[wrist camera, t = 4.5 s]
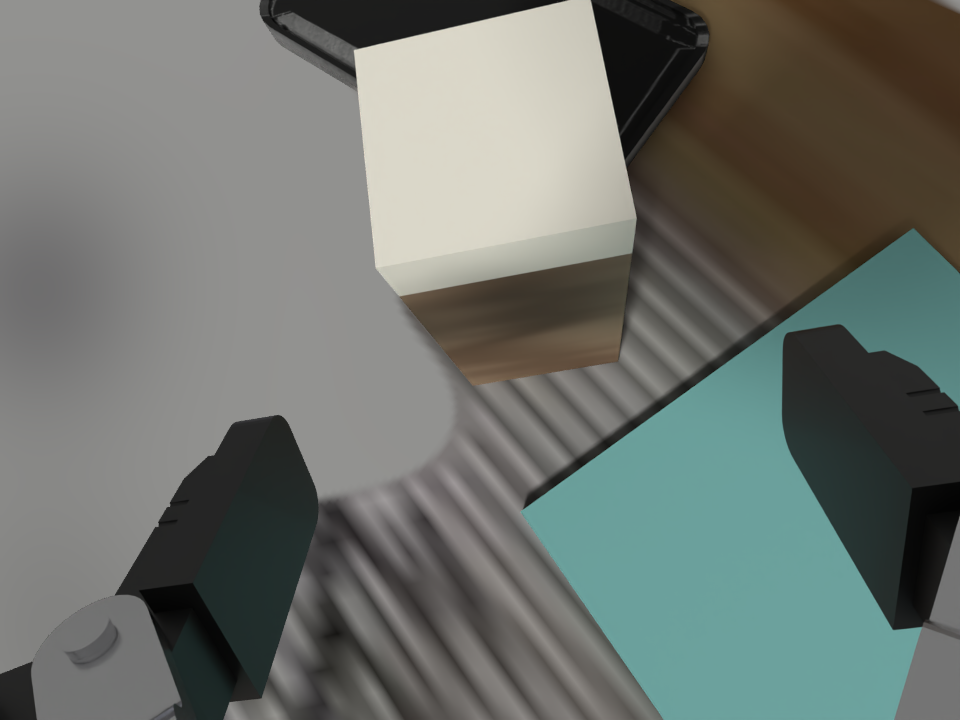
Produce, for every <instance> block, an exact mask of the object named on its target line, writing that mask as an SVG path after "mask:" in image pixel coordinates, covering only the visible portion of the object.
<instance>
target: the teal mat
mask: <svg viewBox="0 0 960 720" xmlns="http://www.w3.org/2000/svg"><path fill="white" fill-rule="evenodd" d="M836 324H841V325H843V326H844V327H845V328H846V329H847V330H848V331H849V332H850V333H851V334H852V335H853V336H854V338H855V339H856V340H857V341H858V342H859V343H860V344H861V345H862V346H863V347H864V348H865V349H866V351H867V352H868V353H870V352H877V351H883V350H885V351H887V352H889V353H891V354H894V355H896V356H898V357H900V358H902V359H904V360H906V361H908V362H910V363H912V364H915V365H917V366H918V367H919V368H920V369H922V370H923V371H924V372H925V373H926V374H927V375H928V376H929V377H930V378H931V379H932V380H933V381H934V382H935V383H936V384H937V385H938V386H939V387H940V391H941V393H942V392H945V393H946V394H947V395H948V396H949V397H950V398H951V399H952V400H953V401H954V402H955V403H956V404H957V405H958V409H959V411H960V273H959V272H958V271H957V270H956V269H955V268H954V267H953V266H952V265H951V264H950V263H949V262H948V261H947V260H946V259H945V258H943V257H942V256H941V255H940V254H939V253H938V252H937V251H936V250H935V249H934V248H933V247H932V246H931V245H930V244H929V243H928V242H927V241H926V240H925V239H924V238H923V237H922V236H921V235H920V234H919V233H918V232H917V231H916V230H915V229H914V228H913V229H911V230H910V231H908V232H907V233H906V234H904V235H903V236H901V237H900V238H899V239H897V240H896V241H895V242H893V243H892V244H890V245H889V246H888V247H886V248H885V249H883V250H882V251H881V252H879V253H878V254H877V255H875V256H874V257H872V258H871V259H870V260H868V261H867V262H865V263H864V264H863V265H861V266H860V267H859V268H857V269H856V270H854V271H853V272H852V273H850V274H849V275H847V276H846V277H845V278H843V279H842V280H841V281H839V282H838V283H836V284H835V285H834V286H832V287H831V288H829V289H828V290H827V291H825V292H824V293H823V294H821V295H820V296H818V297H817V298H816V299H814V300H813V301H811V302H810V303H809V304H807V305H806V306H805V307H803V308H802V309H800V310H799V311H798V312H796V313H795V314H793V315H792V316H791V317H789V318H788V319H787V320H785V321H784V322H782V323H781V324H780V325H778V326H777V327H775V328H774V329H773V330H771V331H770V332H769V333H767V334H766V335H764V336H763V337H762V338H760V339H759V340H757V341H756V342H755V343H753V344H752V345H751V346H749V347H748V348H746V349H745V350H744V351H742V352H741V353H739V354H738V355H737V356H735V357H734V358H733V359H731V360H730V361H728V362H727V363H726V364H724V365H723V366H721V367H720V368H719V369H717V370H716V371H715V372H713V373H712V374H710V375H709V376H708V377H706V378H705V379H703V380H702V381H701V382H699V383H698V384H697V385H695V386H694V387H692V388H691V389H690V390H688V391H687V392H685V393H684V394H683V395H681V396H680V397H679V398H677V399H676V400H674V401H673V402H672V403H670V404H669V405H667V406H666V407H665V408H663V409H662V410H661V411H659V412H658V413H656V414H655V415H654V416H652V417H651V418H649V419H648V420H647V421H645V422H644V423H643V424H641V425H640V426H638V427H637V428H636V429H634V430H633V431H631V432H630V433H629V434H627V435H626V436H625V437H623V438H622V439H620V440H619V441H618V442H616V443H615V444H613V445H612V446H611V447H609V448H608V449H607V450H605V451H604V452H602V453H601V454H600V455H598V456H597V457H595V458H594V459H593V460H591V461H590V462H589V463H587V464H586V465H584V466H583V467H582V468H580V469H579V470H577V471H576V472H575V473H573V474H572V475H571V476H569V477H568V478H566V479H565V480H564V481H562V482H561V483H559V484H558V485H557V486H555V487H554V488H553V489H551V490H550V491H548V492H547V493H546V494H544V495H543V496H541V497H540V498H539V499H537V500H536V501H535V502H533V503H532V504H530V505H529V506H528V507H526V508H525V509H523V510H522V511H521V513H522V515H523V516H524V518H525V519H526V520H527V522H528V523H529V525H530V526H531V528H532V529H533V531H534V532H535V533H536V535H537V536H538V538H539V539H540V541H541V542H542V544H543V545H544V547H545V548H546V549H547V551H548V552H549V554H550V555H551V557H552V558H553V560H554V561H555V562H556V564H557V565H558V567H559V568H560V570H561V571H562V573H563V574H564V576H565V577H566V578H567V580H568V581H569V583H570V584H571V586H572V587H573V589H574V590H575V591H576V593H577V594H578V596H579V597H580V599H581V600H582V602H583V603H584V605H585V606H586V607H587V609H588V610H589V612H590V613H591V615H592V616H593V618H594V619H595V620H596V622H597V623H598V625H599V626H600V628H601V629H602V631H603V632H604V634H605V635H606V636H607V638H608V639H609V641H610V642H611V644H612V645H613V647H614V648H615V649H616V651H617V652H618V654H619V655H620V657H621V658H622V660H623V661H624V663H625V664H626V665H627V667H628V668H629V670H630V671H631V673H632V674H633V676H634V677H635V678H636V680H637V681H638V683H639V684H640V686H641V687H642V689H643V690H644V692H645V693H646V694H647V696H648V697H649V699H650V700H651V702H652V703H653V705H654V706H655V707H656V709H657V710H658V712H659V713H660V715H661V716H662V718H663V719H664V720H894V718H895V715H896V711H897V708H898V705H899V701H900V698H901V695H902V691H903V688H904V685H905V681H906V678H907V675H908V671H909V668H910V665H911V661H912V658H913V655H914V651H915V648H916V645H917V641H918V638H919V635H920V632H921V629H922V627H919V628H910V629H901V630H892V628H891V626H890V624H889V623H888V621H887V619H886V618H885V616H884V614H883V612H882V611H881V609H880V607H879V605H878V604H877V602H876V600H875V599H874V597H873V595H872V593H871V592H870V590H869V588H868V587H867V585H866V583H865V581H864V580H863V578H862V576H861V574H860V573H859V571H858V569H857V568H856V566H855V564H854V562H853V561H852V559H851V557H850V556H849V554H848V552H847V550H846V549H845V547H844V545H843V543H842V542H841V540H840V538H839V537H838V535H837V533H836V531H835V530H834V528H833V526H832V525H831V523H830V521H829V519H828V518H827V516H826V514H825V512H824V511H823V509H822V507H821V506H820V504H819V502H818V500H817V499H816V497H815V495H814V494H813V492H812V490H811V488H810V487H809V485H808V483H807V481H806V480H805V478H804V476H803V475H802V473H801V471H800V469H799V468H798V466H797V464H796V463H795V461H794V459H793V457H792V455H791V453H790V451H789V449H788V446H787V443H786V439H785V435H784V430H783V424H782V359H783V340H784V337H785V335H786V334H787V333H788V332H793V331H799V330H805V329H811V328H817V327H824V326H830V325H836Z"/></svg>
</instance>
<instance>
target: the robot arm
mask: <svg viewBox="0 0 960 720" xmlns="http://www.w3.org/2000/svg"><path fill="white" fill-rule="evenodd" d="M782 424H783V430H784V435H785V439H786V443H787V446H788V449H789V451H790V453H791V455H792V457H793V459H794V461H795V463H796V464H797V466H798V468H799V469H800V471H801V473H802V475H803V476H804V478H805V480H806V481H807V483H808V485H809V487H810V488H811V490H812V492H813V494H814V495H815V497H816V499H817V500H818V502H819V504H820V506H821V507H822V509H823V511H824V512H825V514H826V516H827V518H828V519H829V521H830V523H831V525H832V526H833V528H834V530H835V531H836V533H837V535H838V537H839V538H840V540H841V542H842V543H843V545H844V547H845V549H846V550H847V552H848V554H849V556H850V557H851V559H852V561H853V562H854V564H855V566H856V568H857V569H858V571H859V573H860V574H861V576H862V578H863V580H864V581H865V583H866V585H867V587H868V588H869V590H870V592H871V593H872V595H873V597H874V599H875V600H876V602H877V604H878V605H879V607H880V609H881V611H882V612H883V614H884V616H885V618H886V619H887V621H888V623H889V624H890V626H891V628H892V630H901V629H910V628H919V627H922V629H921V632H920V635H919V638H918V641H917V645H916V648H915V651H914V655H913V658H912V661H911V665H910V668H909V671H908V675H907V678H906V681H905V685H904V688H903V691H902V695H901V698H900V701H899V705H898V708H897V711H896V715H895V718H894V720H960V411H959V409H958V405H957V404H956V403H955V402H954V401H953V400H952V399H951V398H950V397H949V396H948V395H947V394H946V393H945V392H942V393H941V391H940V387H939V386H938V385H937V384H936V383H935V382H934V381H933V380H932V379H931V378H930V377H929V376H928V375H927V374H926V373H925V372H924V371H923V370H922V369H920V368H919V367H918V366H917V365H915V364H912V363H910V362H908V361H906V360H904V359H902V358H900V357H898V356H896V355H894V354H891V353H889V352H887V351H885V350H883V351H877V352H870V353H868V352H867V351H866V349H865V348H864V347H863V346H862V345H861V344H860V343H859V342H858V341H857V340H856V339H855V338H854V336H853V335H852V334H851V333H850V332H849V331H848V330H847V329H846V328H845V327H844V326H843V325H841V324H836V325H830V326H824V327H817V328H811V329H805V330H799V331H793V332H788V333H787V334H786V335H785V337H784V340H783V359H782ZM317 520H318V498H317V492H316V488H315V485H314V483H313V480H312V478H311V476H310V473H309V471H308V469H307V466H306V464H305V462H304V459H303V457H302V454H301V452H300V450H299V447H298V445H297V443H296V440H295V438H294V436H293V433H292V431H291V429H290V426H289V424H288V423H287V421H286V420H285V419H284V418H283V417H282V416H280V415H275V416H269V417H263V418H257V419H251V420H245V421H239V422H235V423H234V424H232V425H231V427H230V429H229V430H228V432H227V434H226V435H225V437H224V439H223V441H222V443H221V444H220V446H219V448H218V450H217V452H216V453H215V455H214V456H208V457H207V458H206V459H205V460H204V461H202V463H200V465H198V466H197V467H196V468H195V469H194V470H193V471H192V472H191V473H190V474H189V475H188V476H187V477H186V478H184V480H183V481H182V483H181V485H180V486H179V488H178V490H177V492H176V493H175V495H174V497H173V498H172V500H171V502H170V507H167V508H166V510H165V512H164V514H163V515H162V517H161V519H160V520H159V522H158V523H159V527H155V529H154V530H153V532H152V534H151V535H150V537H149V539H148V540H147V542H146V544H145V545H144V547H143V549H142V551H141V552H140V554H139V556H138V557H137V559H136V561H135V562H134V564H133V566H132V567H131V569H130V571H129V572H128V574H127V576H126V577H125V579H124V581H123V583H122V584H121V586H120V587H119V589H118V591H117V592H116V594H115V596H111V597H108V598H104V599H101V600H99V601H97V602H94V603H92V604H90V605H88V606H86V607H84V608H82V609H80V610H79V611H77V612H76V613H74V614H73V615H71V616H70V617H69V618H68V619H66V620H65V621H64V622H62V624H60V625H59V626H58V627H57V628H56V629H55V630H54V631H53V632H52V633H51V634H50V635H49V636H48V637H47V639H46V640H45V641H44V642H43V644H42V645H41V647H40V648H39V650H38V652H37V654H36V656H35V658H34V660H33V662H31V663H28V664H25V665H23V666H20V667H17V668H15V669H13V670H10V671H7V672H5V673H2V674H0V720H223V719H224V716H225V713H226V710H227V707H228V705H229V702H233V701H242V700H251V699H260V698H262V695H263V691H264V688H265V685H266V682H267V679H268V676H269V672H270V669H271V666H272V663H273V660H274V657H275V654H276V650H277V647H278V644H279V641H280V638H281V635H282V631H283V628H284V625H285V622H286V619H287V616H288V612H289V609H290V606H291V603H292V600H293V597H294V594H295V590H296V587H297V584H298V581H299V578H300V575H301V571H302V568H303V565H304V562H305V559H306V556H307V552H308V549H309V546H310V543H311V540H312V537H313V533H314V530H315V527H316V524H317Z"/></svg>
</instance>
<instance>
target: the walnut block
mask: <svg viewBox="0 0 960 720" xmlns="http://www.w3.org/2000/svg"><path fill="white" fill-rule="evenodd" d="M354 57H355V67H356V77H357V87H358V96H359V106H360V116H361V126H362V136H363V146H364V156H365V166H366V176H367V186H368V196H369V206H370V216H371V225H372V235H373V245H374V255H375V265H376V269H377V270H378V271H379V272H380V274H381V275H382V276H383V277H384V279H385V280H386V281H387V282H388V284H389V285H390V286H391V287H392V288H393V290H394V291H395V292H396V293H397V294H398V296H399V297H400V298H401V299H402V300H403V302H404V303H405V304H406V305H407V306H408V308H409V309H410V310H411V311H412V313H413V314H414V315H415V316H416V317H417V319H418V320H419V321H420V322H421V323H422V325H423V326H424V327H425V328H426V329H427V331H428V332H429V333H430V334H431V335H432V337H433V338H434V339H435V340H436V342H437V343H438V344H439V345H440V346H441V348H442V349H443V350H444V351H445V352H446V354H447V355H448V356H449V357H450V358H451V360H452V361H453V362H454V363H455V364H456V366H457V367H458V368H459V369H460V371H461V372H462V373H463V374H464V375H465V377H466V378H467V379H468V380H469V381H470V383H471V384H472V385H473V386H474V385H480V384H486V383H492V382H498V381H504V380H510V379H516V378H522V377H528V376H534V375H540V374H546V373H552V372H557V371H563V370H569V369H575V368H581V367H587V366H593V365H599V364H605V363H611V362H617V361H618V357H619V350H620V342H621V334H622V327H623V319H624V311H625V304H626V296H627V289H628V281H629V273H630V266H631V258H632V251H633V243H634V235H635V228H636V220H637V217H636V212H635V208H634V203H633V198H632V193H631V189H630V184H629V179H628V174H627V170H626V165H625V160H624V156H623V151H622V146H621V141H620V137H619V132H618V127H617V122H616V118H615V113H614V108H613V103H612V99H611V94H610V89H609V84H608V80H607V75H606V70H605V66H604V61H603V56H602V51H601V47H600V42H599V37H598V32H597V28H596V23H595V18H594V13H593V9H592V4H591V0H568V1H564V2H560V3H555V4H551V5H547V6H542V7H538V8H534V9H529V10H525V11H521V12H516V13H512V14H508V15H503V16H499V17H495V18H490V19H486V20H482V21H478V22H473V23H469V24H465V25H460V26H456V27H452V28H447V29H443V30H439V31H434V32H430V33H426V34H421V35H417V36H413V37H408V38H404V39H400V40H395V41H391V42H387V43H383V44H378V45H374V46H370V47H365V48H361V49H357V50H354Z"/></svg>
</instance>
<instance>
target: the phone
mask: <svg viewBox="0 0 960 720" xmlns="http://www.w3.org/2000/svg"><path fill="white" fill-rule="evenodd" d="M564 1H568V0H261V2H260V15H261V17H262V19H263V21H264V23H265V24H266V26H267V27H268V29H269V31H270V32H271V33H272V35H273V37H274V38H275V40H276V41H277V42H278V43H279V44H280V45H281V46H282V47H284V48H286V49H287V50H289V51H291V52H292V53H294V54H296V55H297V56H299V57H301V58H302V59H304V60H306V61H307V62H309V63H311V64H312V65H314V66H316V67H317V68H319V69H320V70H322V71H324V72H325V73H327V74H329V75H330V76H332V77H334V78H336V79H337V80H339V81H341V82H342V83H344V84H345V85H347V86H349V87H350V88H352V89H354V87H353V85H354V86H355V87H357V77H356V67H355V57H354V50H357V49H361V48H365V47H370V46H374V45H378V44H383V43H387V42H391V41H395V40H400V39H404V38H408V37H413V36H417V35H421V34H426V33H430V32H434V31H439V30H443V29H447V28H452V27H456V26H460V25H465V24H469V23H473V22H478V21H482V20H486V19H490V18H495V17H499V16H503V15H508V14H512V13H516V12H521V11H525V10H529V9H534V8H538V7H542V6H547V5H551V4H555V3H560V2H564ZM591 4H592V9H593V13H594V18H595V23H596V28H597V32H598V37H599V42H600V47H601V51H602V56H603V61H604V66H605V70H606V75H607V80H608V84H609V89H610V94H611V99H612V103H613V108H614V113H615V118H616V122H617V127H618V132H619V137H620V141H621V146H622V151H623V156H624V160H625V165H626V168H627V167H628V165H629V164H630V163H631V161H632V160H633V159H634V157H635V156H636V155H637V153H638V152H639V151H640V149H641V148H642V146H643V145H644V144H645V142H646V141H647V140H648V138H649V137H650V136H651V134H652V133H653V132H654V130H655V129H656V128H657V126H658V125H659V123H660V122H661V121H662V119H663V118H664V117H665V115H666V114H667V113H668V111H669V110H670V109H671V107H672V106H673V105H674V103H675V102H676V100H677V99H678V98H679V96H680V95H681V94H682V92H683V91H684V90H685V88H686V87H687V86H688V84H689V83H690V81H691V80H692V79H693V77H694V76H695V75H696V73H697V72H698V71H699V69H700V68H701V66H702V64H703V62H704V60H705V56H706V52H707V47H708V42H709V31H708V28H707V25H706V23H705V22H704V21H703V19H702V18H701V17H700V16H699V15H697V14H696V13H694V12H693V11H691V10H689V9H687V8H685V7H683V6H681V5H678V4H676V3H674V2H672V1H670V0H591ZM357 88H358V87H357Z"/></svg>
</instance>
